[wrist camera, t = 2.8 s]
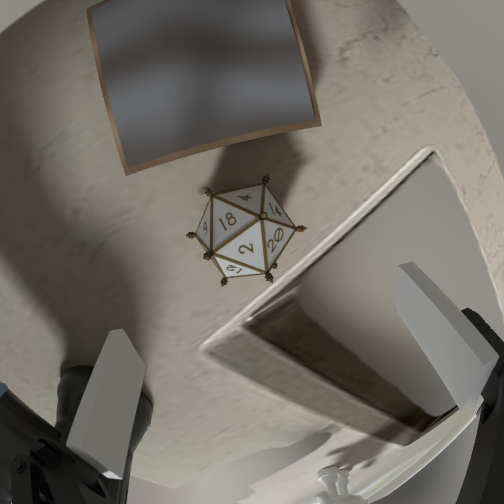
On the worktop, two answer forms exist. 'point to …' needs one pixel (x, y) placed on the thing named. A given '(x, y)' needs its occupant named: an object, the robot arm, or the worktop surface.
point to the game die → (244, 231)
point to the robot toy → (336, 487)
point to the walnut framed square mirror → (199, 75)
